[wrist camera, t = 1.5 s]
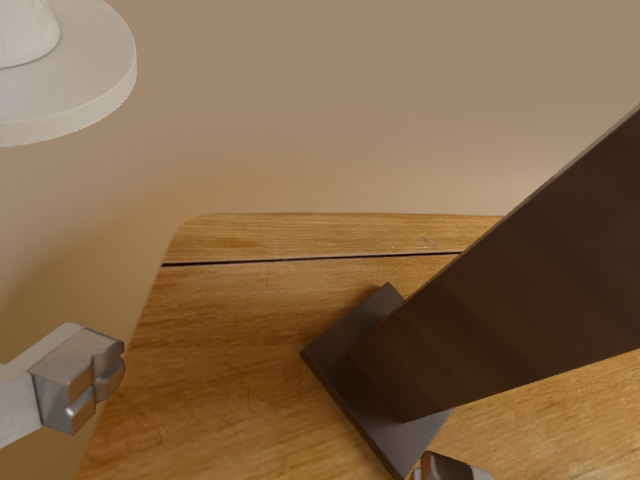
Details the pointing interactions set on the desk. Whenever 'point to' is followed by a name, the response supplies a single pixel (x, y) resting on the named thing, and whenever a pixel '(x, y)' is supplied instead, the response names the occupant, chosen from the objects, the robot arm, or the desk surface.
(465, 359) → the stand
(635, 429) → the desk surface
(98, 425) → the desk surface
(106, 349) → the robot arm
